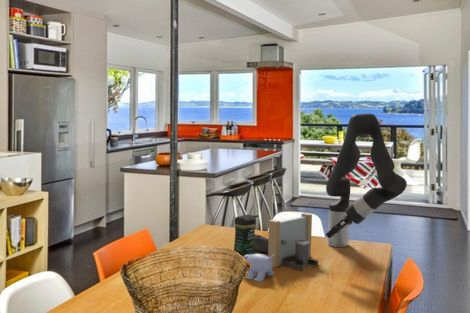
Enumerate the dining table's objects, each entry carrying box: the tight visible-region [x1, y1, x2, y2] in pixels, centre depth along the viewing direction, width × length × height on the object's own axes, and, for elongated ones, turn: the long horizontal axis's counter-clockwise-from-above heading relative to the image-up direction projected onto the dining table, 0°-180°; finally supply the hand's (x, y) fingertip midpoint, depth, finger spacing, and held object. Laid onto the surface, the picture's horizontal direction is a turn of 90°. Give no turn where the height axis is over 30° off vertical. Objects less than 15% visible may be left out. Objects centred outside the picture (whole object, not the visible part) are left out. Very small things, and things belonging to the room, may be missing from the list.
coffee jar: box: [233, 214, 257, 256], centre depth 204 cm, size 10×8×19 cm
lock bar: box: [295, 239, 310, 267], centre depth 193 cm, size 4×4×10 cm
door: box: [267, 212, 313, 268], centre depth 199 cm, size 24×5×19 cm, turn 133°
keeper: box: [282, 255, 319, 272], centre depth 194 cm, size 11×10×3 cm
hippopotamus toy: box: [243, 253, 275, 282], centre depth 180 cm, size 11×15×10 cm
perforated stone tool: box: [255, 233, 269, 254], centre depth 213 cm, size 15×5×7 cm, turn 42°
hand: (331, 233), depth 186 cm, fingers open, 8 cm apart
